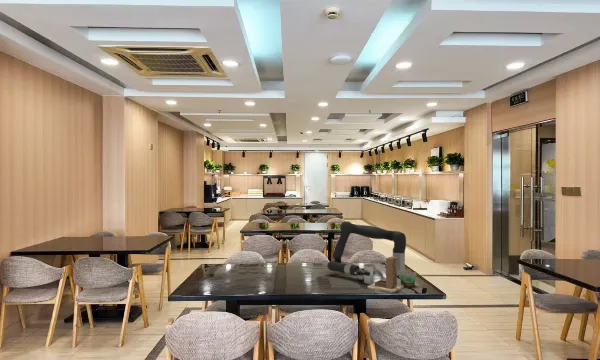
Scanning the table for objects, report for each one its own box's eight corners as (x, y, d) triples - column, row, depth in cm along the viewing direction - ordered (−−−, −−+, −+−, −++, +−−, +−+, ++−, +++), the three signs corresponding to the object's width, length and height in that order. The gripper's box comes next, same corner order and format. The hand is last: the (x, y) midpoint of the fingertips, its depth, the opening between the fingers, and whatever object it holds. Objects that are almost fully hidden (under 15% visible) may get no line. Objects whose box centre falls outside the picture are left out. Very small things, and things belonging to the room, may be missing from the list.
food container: (403, 288, 255) (403, 273, 255) (399, 286, 261) (399, 271, 261) (419, 287, 258) (420, 273, 258) (415, 285, 264) (415, 271, 264)
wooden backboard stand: (380, 282, 270) (380, 253, 270) (404, 287, 258) (404, 256, 258) (367, 287, 256) (367, 256, 256) (391, 293, 244) (391, 260, 244)
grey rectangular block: (367, 281, 272) (367, 263, 272) (373, 282, 269) (373, 264, 269) (364, 282, 269) (364, 264, 269) (369, 284, 266) (370, 265, 266)
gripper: (346, 266, 273) (366, 269, 262) (357, 263, 284) (377, 266, 273) (346, 276, 273) (366, 280, 262) (357, 273, 284) (376, 277, 273)
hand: (371, 273), depth 268 cm, fingers open, 6 cm apart
